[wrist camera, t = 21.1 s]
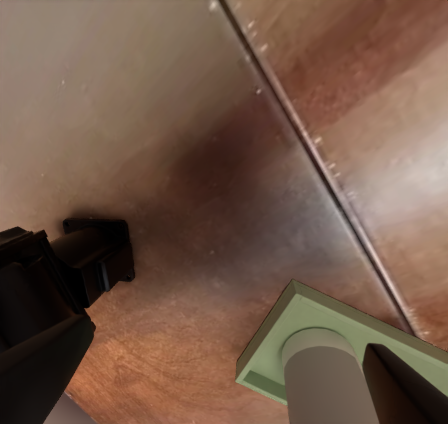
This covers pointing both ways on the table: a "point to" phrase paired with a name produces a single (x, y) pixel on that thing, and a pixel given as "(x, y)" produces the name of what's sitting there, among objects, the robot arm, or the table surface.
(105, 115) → the table surface
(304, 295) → the tray
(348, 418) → the spray bottle
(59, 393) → the robot arm
